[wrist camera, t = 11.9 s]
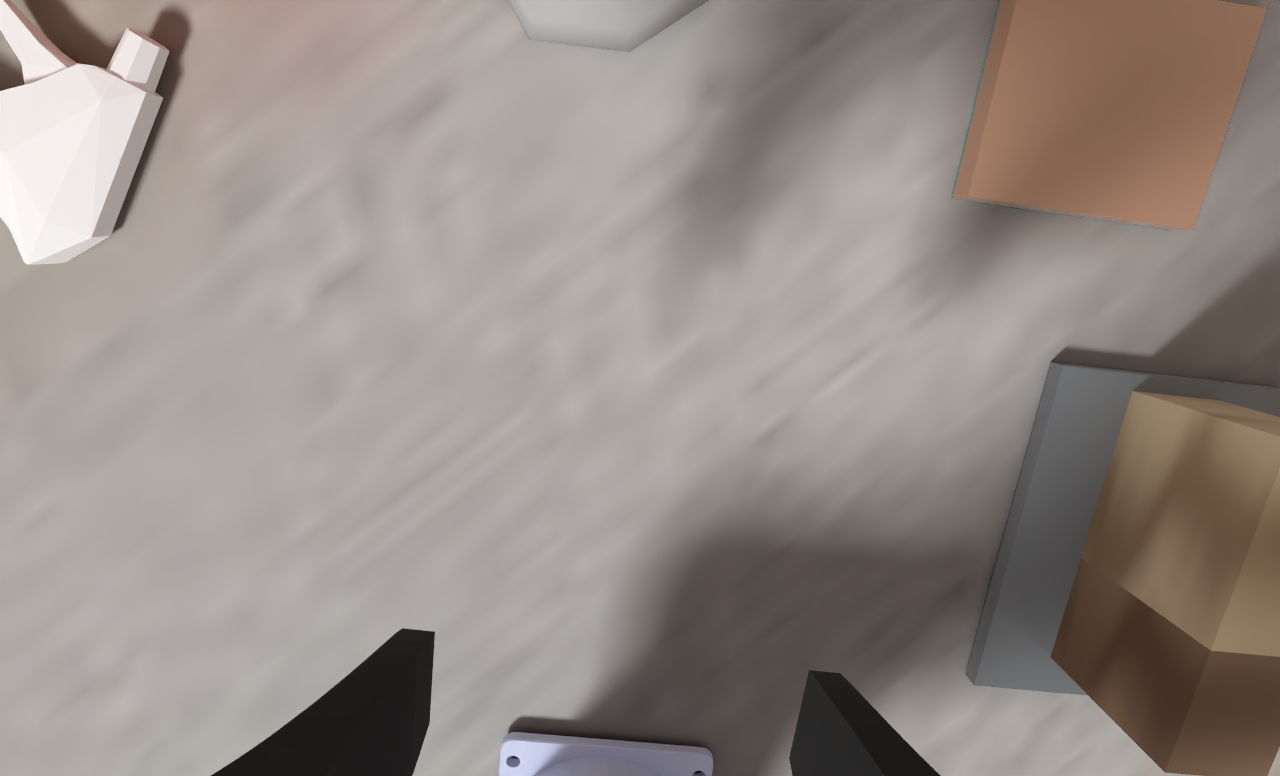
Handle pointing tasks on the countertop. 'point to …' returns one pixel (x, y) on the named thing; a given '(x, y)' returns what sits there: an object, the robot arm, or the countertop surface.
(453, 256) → the countertop surface
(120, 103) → the spray bottle
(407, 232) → the countertop surface
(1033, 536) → the plate
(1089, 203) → the tile
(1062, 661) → the tall tan prism
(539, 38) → the flask
